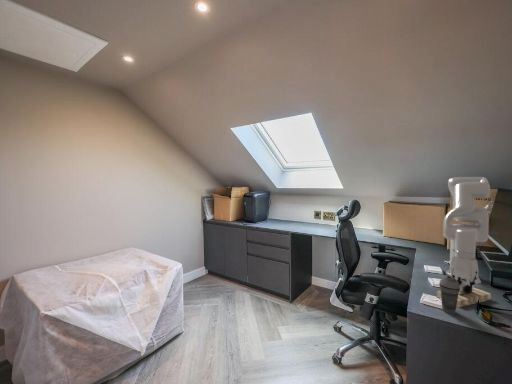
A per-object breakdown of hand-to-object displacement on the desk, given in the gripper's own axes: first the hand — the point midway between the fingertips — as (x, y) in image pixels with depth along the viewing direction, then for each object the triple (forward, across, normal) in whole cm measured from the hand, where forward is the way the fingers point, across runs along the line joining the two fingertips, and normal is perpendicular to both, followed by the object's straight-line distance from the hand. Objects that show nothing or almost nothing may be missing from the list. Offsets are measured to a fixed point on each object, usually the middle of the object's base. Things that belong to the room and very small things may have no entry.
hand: (463, 290), depth 118 cm
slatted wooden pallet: (+4, 0, 0) cm, 4 cm away
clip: (+4, 0, 0) cm, 4 cm away
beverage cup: (+4, +6, -19) cm, 20 cm away
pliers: (+4, -32, +44) cm, 55 cm away
